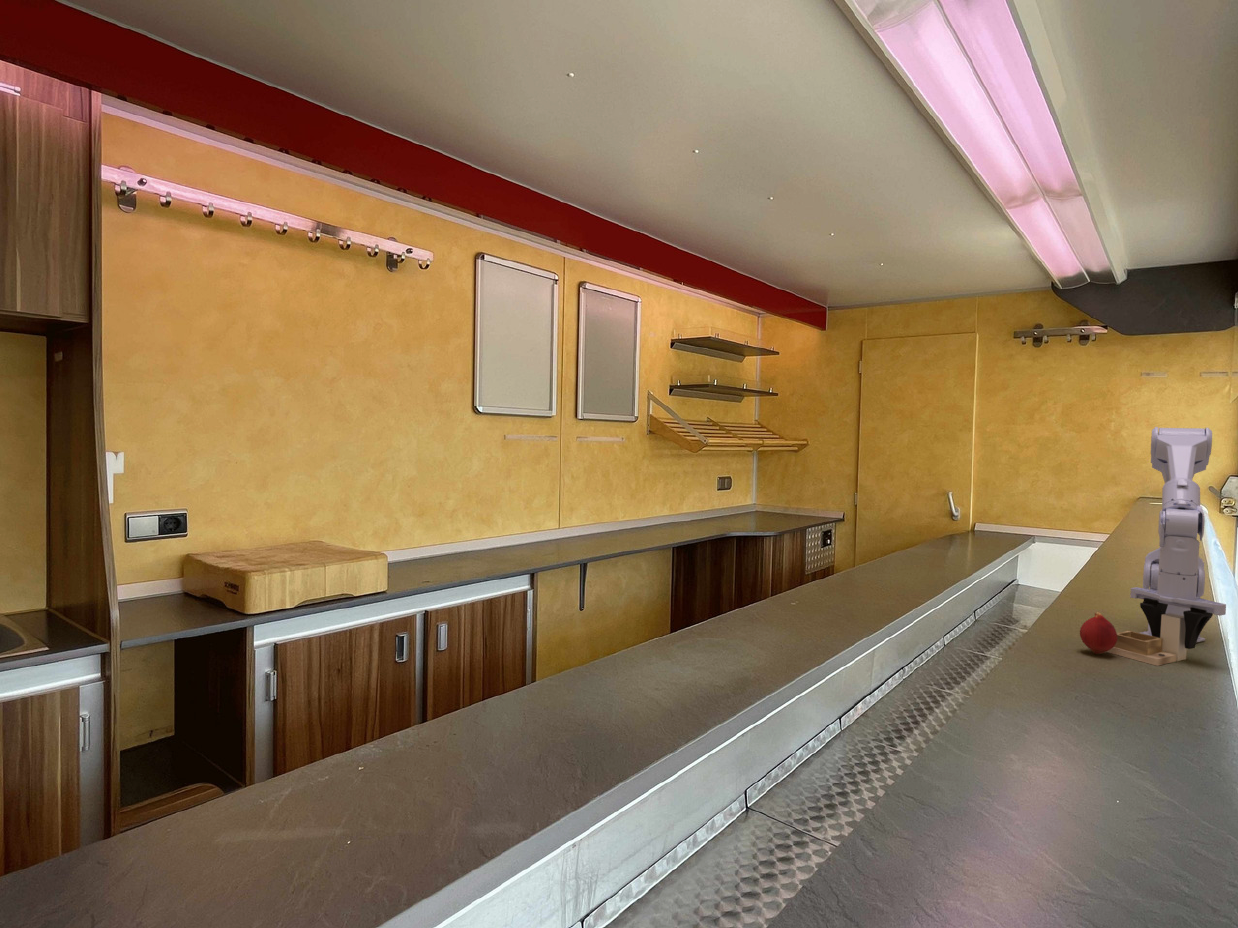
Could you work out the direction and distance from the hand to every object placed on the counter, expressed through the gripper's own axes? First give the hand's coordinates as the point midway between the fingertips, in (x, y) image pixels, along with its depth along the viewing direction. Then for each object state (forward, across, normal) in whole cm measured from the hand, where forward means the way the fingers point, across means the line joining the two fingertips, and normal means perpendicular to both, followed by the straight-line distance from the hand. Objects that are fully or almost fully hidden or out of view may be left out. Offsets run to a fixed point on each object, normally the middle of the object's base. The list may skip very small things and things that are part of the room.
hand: (1173, 643), depth 131 cm
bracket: (+3, -4, -5) cm, 7 cm away
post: (+3, 0, 0) cm, 3 cm away
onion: (+3, -7, -12) cm, 14 cm away
